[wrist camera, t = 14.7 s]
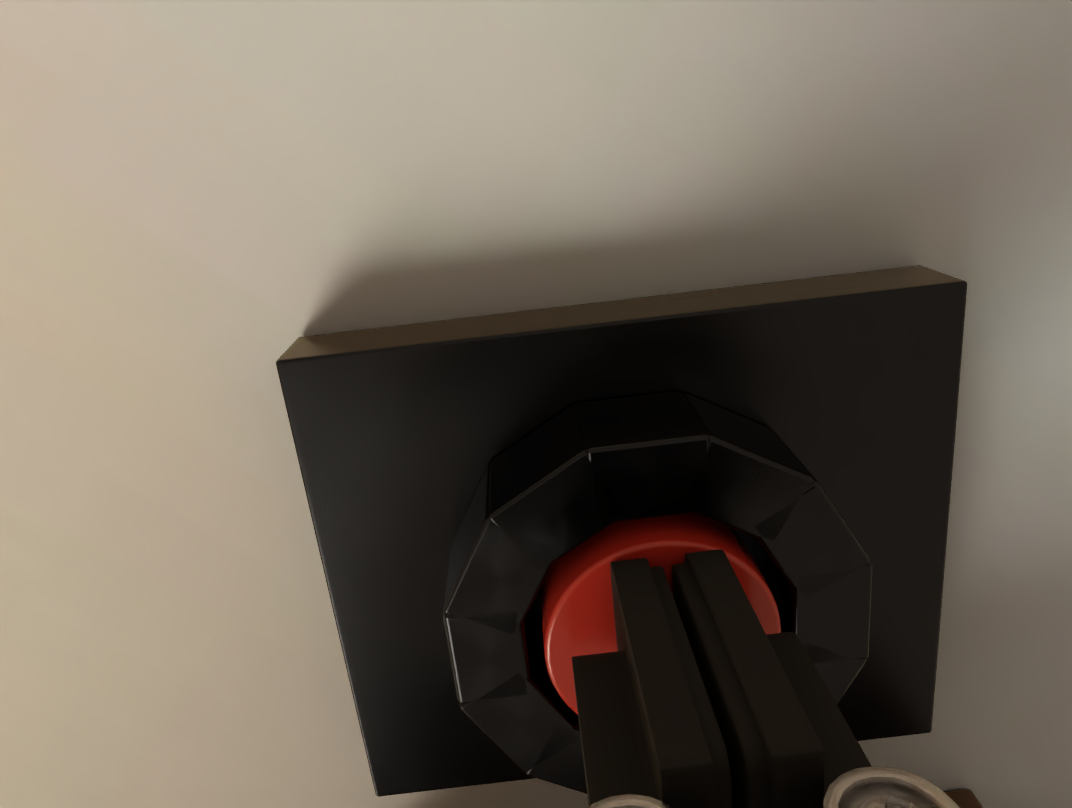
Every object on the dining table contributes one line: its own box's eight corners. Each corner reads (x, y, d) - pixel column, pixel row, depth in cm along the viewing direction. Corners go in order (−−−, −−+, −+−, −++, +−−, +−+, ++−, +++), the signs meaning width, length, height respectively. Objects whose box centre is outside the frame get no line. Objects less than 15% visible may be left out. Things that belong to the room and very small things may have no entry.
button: (550, 680, 14) (556, 754, 12) (528, 501, 13) (531, 557, 11) (750, 658, 14) (783, 728, 12) (747, 476, 13) (782, 528, 11)
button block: (386, 741, 17) (357, 891, 14) (297, 336, 14) (233, 404, 11) (896, 682, 17) (992, 818, 14) (921, 264, 14) (1052, 309, 11)
